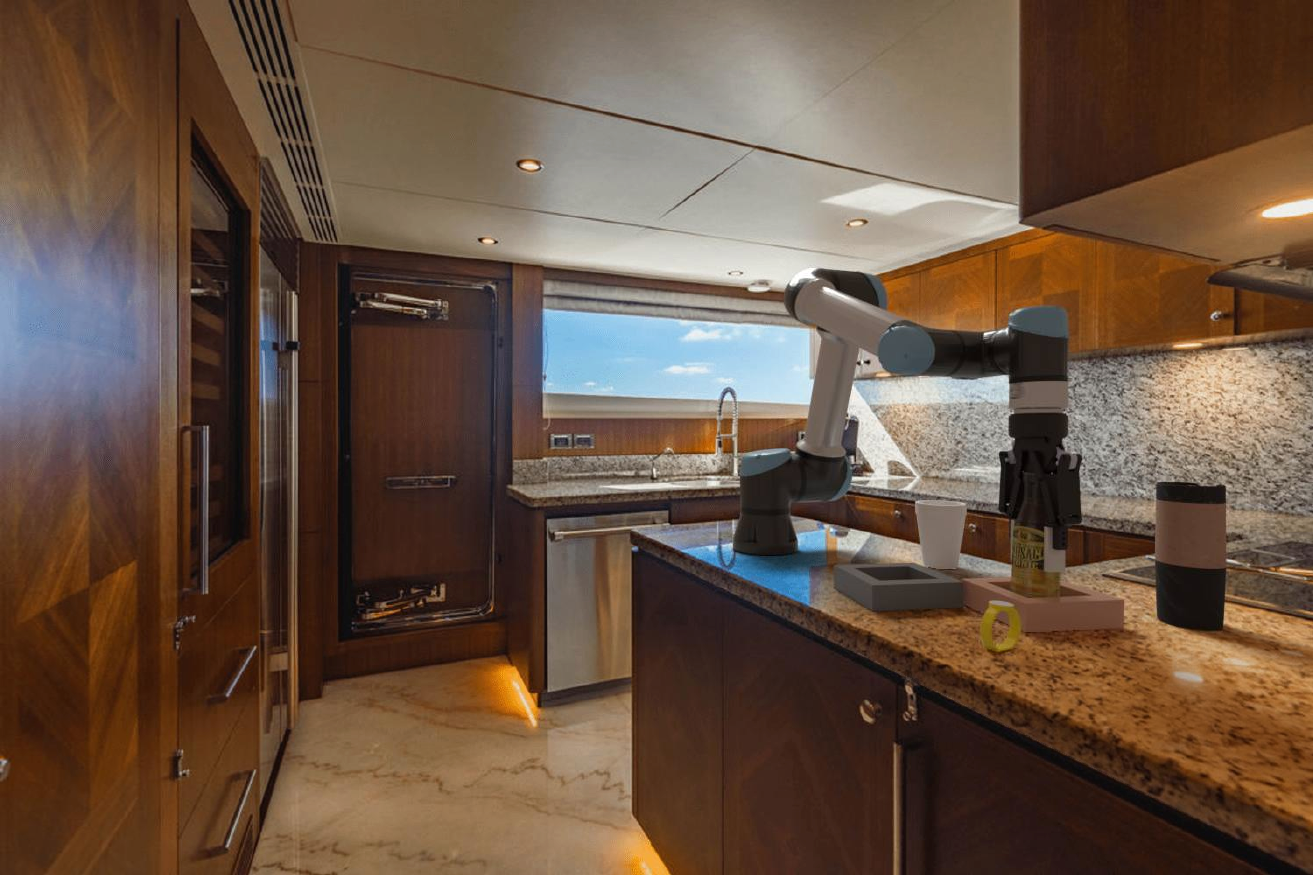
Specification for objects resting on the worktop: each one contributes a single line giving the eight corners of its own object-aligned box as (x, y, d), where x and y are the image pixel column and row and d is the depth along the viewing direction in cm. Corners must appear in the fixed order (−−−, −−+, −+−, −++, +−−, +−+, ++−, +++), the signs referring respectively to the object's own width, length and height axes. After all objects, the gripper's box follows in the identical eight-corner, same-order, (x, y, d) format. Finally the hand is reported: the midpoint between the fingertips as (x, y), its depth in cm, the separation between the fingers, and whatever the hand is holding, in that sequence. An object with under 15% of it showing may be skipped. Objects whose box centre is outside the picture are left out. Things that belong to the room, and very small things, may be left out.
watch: (1005, 644, 78) (1007, 598, 78) (1025, 651, 75) (1028, 604, 75) (973, 648, 75) (976, 601, 75) (994, 655, 73) (996, 606, 73)
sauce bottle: (1001, 601, 91) (1001, 472, 91) (1028, 597, 94) (1028, 471, 93) (1044, 613, 85) (1043, 474, 85) (1071, 608, 88) (1071, 473, 88)
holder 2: (960, 603, 95) (961, 578, 95) (1046, 600, 97) (1046, 575, 97) (1025, 632, 81) (1025, 603, 81) (1123, 628, 83) (1124, 599, 83)
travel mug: (1162, 626, 84) (1163, 484, 84) (1148, 611, 91) (1149, 480, 91) (1235, 634, 80) (1236, 487, 80) (1214, 619, 87) (1215, 482, 87)
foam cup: (955, 562, 126) (955, 500, 125) (974, 572, 116) (974, 505, 116) (909, 561, 127) (909, 500, 127) (923, 571, 117) (923, 505, 117)
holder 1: (833, 587, 105) (833, 564, 105) (913, 584, 107) (913, 562, 107) (872, 611, 91) (872, 585, 91) (963, 607, 93) (963, 582, 93)
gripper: (972, 413, 98) (972, 553, 98) (1066, 409, 79) (1065, 583, 79) (1014, 413, 99) (1013, 552, 99) (1117, 409, 80) (1115, 581, 80)
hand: (1036, 565), depth 89 cm, fingers closed on sauce bottle, 6 cm apart
